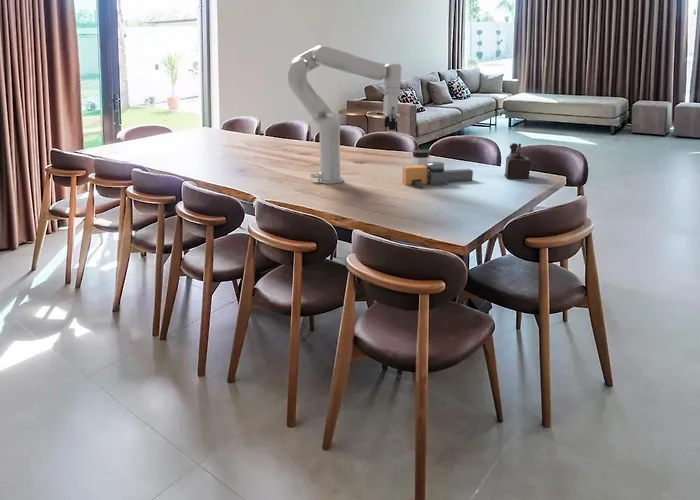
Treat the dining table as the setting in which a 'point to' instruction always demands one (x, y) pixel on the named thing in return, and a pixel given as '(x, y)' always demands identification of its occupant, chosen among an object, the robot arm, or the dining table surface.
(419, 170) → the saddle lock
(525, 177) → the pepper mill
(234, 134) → the dining table surface
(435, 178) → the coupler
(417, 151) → the jar
